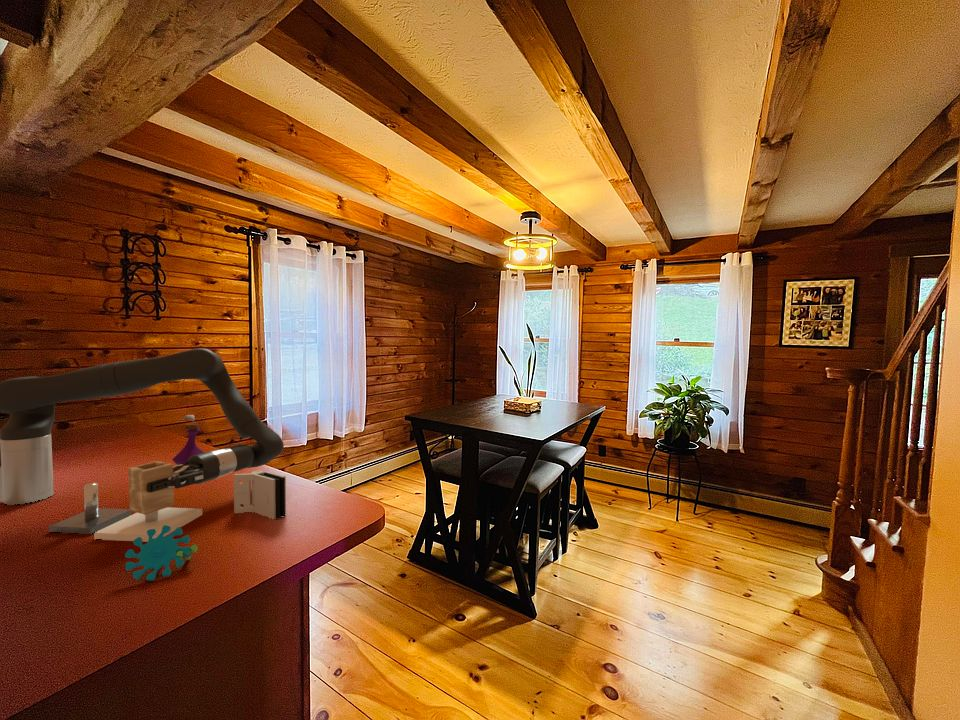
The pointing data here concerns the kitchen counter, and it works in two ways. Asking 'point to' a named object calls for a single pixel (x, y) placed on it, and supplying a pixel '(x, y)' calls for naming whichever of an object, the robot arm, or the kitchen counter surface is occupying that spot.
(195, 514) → the board
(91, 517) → the stand
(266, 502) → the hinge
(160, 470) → the sleeve
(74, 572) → the kitchen counter surface
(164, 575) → the gear
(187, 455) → the perfume bottle
